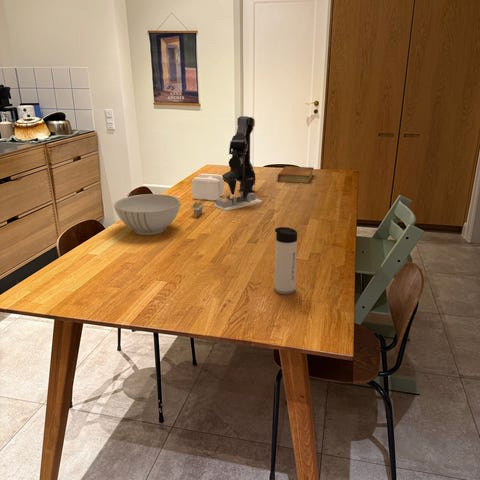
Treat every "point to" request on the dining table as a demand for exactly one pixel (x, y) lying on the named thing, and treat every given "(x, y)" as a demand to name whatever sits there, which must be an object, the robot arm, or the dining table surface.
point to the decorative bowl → (148, 212)
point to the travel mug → (285, 260)
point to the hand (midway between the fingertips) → (238, 196)
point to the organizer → (207, 187)
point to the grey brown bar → (239, 199)
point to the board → (235, 202)
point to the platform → (197, 208)
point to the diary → (295, 175)
